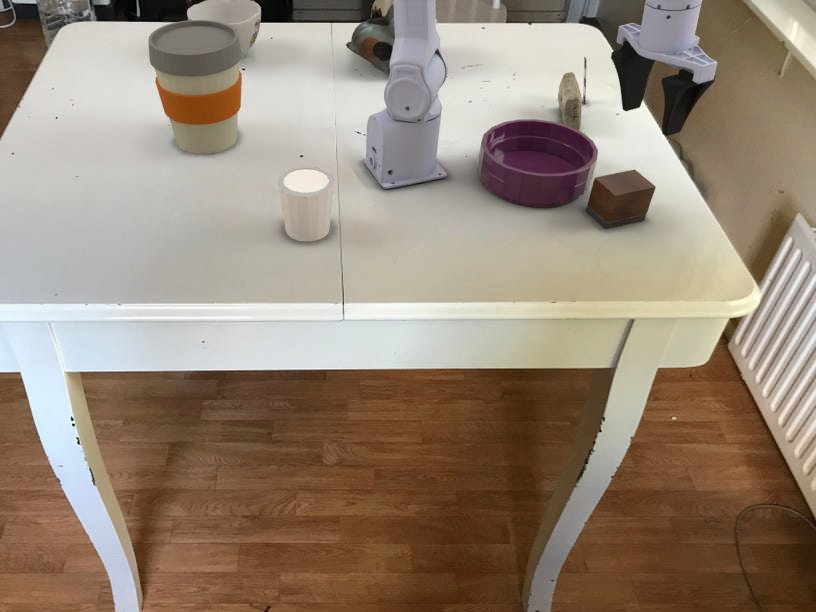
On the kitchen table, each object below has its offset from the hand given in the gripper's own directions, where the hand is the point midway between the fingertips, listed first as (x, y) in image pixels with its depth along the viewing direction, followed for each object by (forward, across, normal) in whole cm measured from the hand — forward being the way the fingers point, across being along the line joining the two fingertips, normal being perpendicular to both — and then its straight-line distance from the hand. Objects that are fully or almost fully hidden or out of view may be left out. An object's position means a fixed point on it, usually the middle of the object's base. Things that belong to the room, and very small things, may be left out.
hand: (650, 120), depth 91 cm
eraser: (+12, -1, +4) cm, 12 cm away
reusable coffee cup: (+6, +37, +48) cm, 61 cm away
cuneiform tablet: (+11, +25, -6) cm, 28 cm away
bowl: (+11, +11, +9) cm, 17 cm away
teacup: (+5, +64, +38) cm, 75 cm away
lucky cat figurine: (+8, +53, +12) cm, 55 cm away
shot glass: (+8, +10, +42) cm, 44 cm away
